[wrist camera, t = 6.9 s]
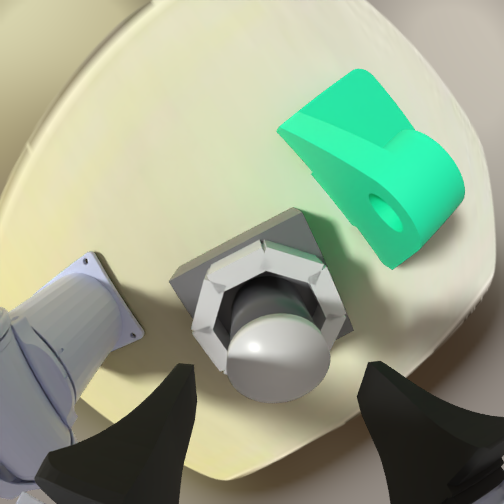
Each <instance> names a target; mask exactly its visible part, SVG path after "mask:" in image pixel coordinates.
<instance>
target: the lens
mask: <svg viewBox="0 0 504 504" xmlns="http://www.w3.org/2000/svg"><path fill="white" fill-rule="evenodd" d="M329 365H330V350H329V347H328V345H327V343H326V341H325V339H324V337H323V335H322V333H321V331H320V330H319V329H318V328H317V327H316V326H315V324H314V322H313V320H312V318H311V316H310V314H309V312H308V310H307V308H306V306H305V304H304V302H303V300H302V298H301V296H300V294H299V292H298V290H297V289H296V288H295V287H294V286H293V285H292V284H291V283H290V282H288V281H287V280H285V279H282V278H280V277H275V276H263V277H258V278H255V279H253V280H251V281H249V282H247V283H246V284H244V285H243V286H242V287H241V288H240V289H239V291H238V292H237V294H236V295H235V297H234V300H233V304H232V317H231V333H230V344H229V347H228V351H227V363H226V370H227V375H228V378H229V380H230V382H231V384H232V385H233V387H234V388H235V389H236V390H237V391H238V392H240V393H241V394H242V395H244V396H245V397H248V398H250V399H252V400H255V401H259V402H264V403H282V402H288V401H292V400H295V399H297V398H300V397H302V396H304V395H306V394H307V393H309V392H310V391H312V390H313V389H314V388H315V387H317V386H318V385H319V384H320V382H321V381H322V380H323V378H324V377H325V375H326V373H327V371H328V369H329Z"/></svg>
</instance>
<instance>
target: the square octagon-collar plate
mask: <svg viewBox="0 0 504 504" xmlns="http://www.w3.org/2000/svg"><path fill="white" fill-rule="evenodd" d="M263 276H275V277H280V278H282V279H285V280H287V281H288V282H290V283H291V284H292V285H293V286H294V287H295V288H296V289H297V290H298V292H299V294H300V296H301V298H302V300H303V302H304V304H305V306H306V308H307V310H308V312H309V314H310V316H311V318H312V320H313V322H314V324H315V326H316V327H317V328H318V329H319V330H320V331H321V333H322V335H323V337H324V339H325V341H326V343H327V345H328V347H329V350H331V348H332V346H333V344H334V342H335V340H337V339H339V338H340V337H342V336H344V335H346V334H348V333H350V332H352V331H354V330H353V327H352V325H351V322H350V319H349V317H348V315H347V312H346V310H345V307H344V305H343V302H342V300H341V297H340V295H339V293H338V290H337V288H336V286H335V283H334V281H333V279H332V276H331V274H330V272H329V269H328V267H327V265H326V263H325V260H324V258H323V256H322V254H321V251H320V249H319V247H318V245H317V243H316V241H315V238H314V236H313V234H312V232H311V230H310V228H309V226H308V223H307V221H306V219H305V217H304V215H303V213H302V212H301V211H299V210H297V209H296V208H294V207H293V208H291V209H289V210H287V211H285V212H283V213H281V214H279V215H277V216H275V217H273V218H271V219H269V220H267V221H265V222H263V223H261V224H259V225H257V226H255V227H254V228H252V229H250V230H248V231H246V232H244V233H242V234H240V235H238V236H236V237H234V238H232V239H231V240H229V241H227V242H225V243H223V244H221V245H219V246H217V247H215V248H213V249H212V250H210V251H208V252H206V253H204V254H202V255H200V256H198V257H197V258H195V259H193V260H191V261H189V262H187V263H185V264H184V265H182V266H180V267H179V268H178V269H177V271H176V272H175V273H174V275H173V276H172V277H171V279H170V280H169V283H170V284H171V286H172V287H173V289H174V291H175V292H176V294H177V295H178V297H179V299H180V300H181V302H182V303H183V305H184V306H185V308H186V309H187V311H188V312H189V314H190V315H191V317H192V318H193V323H192V327H191V329H192V330H193V331H192V334H193V336H194V337H195V338H196V340H197V341H198V343H199V344H200V345H201V347H202V348H203V350H204V351H205V352H206V354H207V355H208V356H209V358H210V359H211V360H212V362H213V363H214V364H215V366H216V367H217V368H218V370H219V371H220V372H221V371H223V370H224V373H223V374H227V370H226V363H227V351H228V347H229V344H230V333H231V317H232V304H233V300H234V297H235V295H236V294H237V292H238V291H239V289H240V288H241V287H242V286H243V285H244V284H246V283H247V282H249V281H251V280H253V279H255V278H258V277H263Z"/></svg>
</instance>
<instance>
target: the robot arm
mask: <svg viewBox="0 0 504 504" xmlns="http://www.w3.org/2000/svg"><path fill="white" fill-rule="evenodd" d="M85 258H86V259H87V260H88V263H86V261H85ZM132 333H134V334H135V335H136V336H133V335H132ZM143 336H144V330H143V329H142V327H141V326H140V324H139V323H138V321H137V320H136V319H135V317H134V316H133V314H132V313H131V311H130V310H129V308H128V307H127V305H126V304H125V302H124V301H123V299H122V298H121V296H120V294H119V293H118V291H117V290H116V288H115V287H114V285H113V283H112V282H111V280H110V278H109V277H108V275H107V273H106V272H105V270H104V268H103V267H102V265H101V263H100V261H99V260H98V258H97V256H96V254H95V253H94V252H92V251H90V252H87V253H86V254H84V255H83V256H82V257H80V258H79V259H78V260H76V261H75V262H74V263H72V264H71V265H70V266H68V267H67V268H66V269H64V270H63V271H62V272H61V273H59V274H58V275H57V276H56V277H54V278H53V279H52V280H50V281H49V282H48V283H47V284H46V285H44V286H43V287H42V288H41V289H39V290H38V291H37V292H36V293H35V294H33V296H32V297H30V298H29V299H27V300H26V301H24V302H23V303H21V304H20V305H18V306H17V307H15V308H14V309H13V310H11V311H10V312H8V311H7V310H6V309H5V308H2V307H0V497H1V498H5V499H14V498H16V497H17V496H19V495H20V497H19V499H18V501H17V503H16V504H45V503H43V502H42V501H40V500H38V499H36V498H35V497H33V496H31V495H29V494H28V493H26V492H27V491H30V490H34V489H41V490H43V491H44V492H45V493H46V494H47V495H48V496H49V497H50V498H51V499H52V500H53V501H54V502H55V503H57V504H179V494H180V485H181V477H182V470H183V465H184V460H185V456H186V453H187V449H188V445H189V441H190V437H191V433H192V429H193V425H194V421H195V414H196V406H197V394H196V384H195V374H194V365H191V364H180V363H179V364H177V365H176V366H175V368H174V369H173V370H172V371H171V372H170V374H169V375H168V376H167V377H166V378H165V379H164V381H163V382H162V383H161V384H160V385H159V386H158V387H157V388H156V389H155V390H154V391H153V392H152V393H151V394H150V395H149V396H148V397H147V398H146V399H145V400H144V401H143V402H142V403H141V404H140V405H139V406H138V407H136V408H135V409H134V410H133V411H132V412H130V413H129V414H128V415H127V416H125V417H124V418H122V419H121V420H120V421H118V422H117V423H115V424H114V425H112V426H110V427H109V428H107V429H106V430H104V431H102V432H100V433H99V434H97V435H95V436H93V437H90V438H88V439H86V440H84V441H82V442H79V443H78V442H77V438H76V436H75V434H74V432H73V431H72V430H71V428H72V426H73V424H74V422H75V420H76V419H77V415H76V413H75V411H74V405H75V403H76V402H77V400H78V399H79V397H80V396H81V394H82V393H83V391H84V390H85V388H86V387H87V385H88V384H89V382H90V381H91V379H92V378H93V376H94V375H95V373H96V372H97V370H98V369H99V367H100V366H101V364H102V363H103V361H104V360H105V359H106V357H107V356H108V354H109V353H110V352H112V351H114V350H116V349H118V348H121V347H123V346H125V345H128V344H130V343H132V342H134V341H137V340H139V339H141V338H142V337H143ZM357 399H358V403H359V407H360V410H361V414H362V417H363V419H364V421H365V424H366V426H367V428H368V430H369V432H370V435H371V437H372V439H373V441H374V444H375V446H376V448H377V451H378V453H379V456H380V458H381V461H382V465H383V469H384V472H385V476H386V480H387V485H388V490H389V496H390V503H391V504H504V470H503V469H502V468H501V466H502V465H503V464H504V461H503V460H502V456H503V455H504V417H497V416H490V415H485V414H480V413H476V412H472V411H469V410H466V409H463V408H460V407H458V406H455V405H453V404H450V403H448V402H446V401H444V400H442V399H439V398H438V397H436V396H434V395H432V394H430V393H429V392H427V391H425V390H424V389H422V388H420V387H419V386H417V385H416V384H414V383H412V382H411V381H410V380H408V379H407V378H405V377H404V376H402V375H401V374H399V373H398V372H397V371H395V370H394V369H392V368H391V367H389V366H388V365H386V364H385V363H383V362H381V361H376V362H368V364H367V368H366V371H365V374H364V377H363V380H362V383H361V386H360V389H359V392H358V395H357Z"/></svg>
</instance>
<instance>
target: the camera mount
mask: <svg viewBox="0 0 504 504" xmlns="http://www.w3.org/2000/svg"><path fill="white" fill-rule="evenodd" d="M276 132H277V133H278V134H279V135H280V136H281V137H282V138H283V139H284V140H285V141H286V142H287V143H288V145H289V146H290V147H291V148H292V149H293V150H294V151H295V152H296V153H297V155H298V156H299V157H300V158H301V159H302V160H303V161H304V162H305V164H306V165H307V166H308V167H309V168H310V169H311V171H312V172H313V173H312V174H311V175H312V176H313V177H314V178H315V179H316V181H317V182H318V183H319V184H320V185H321V187H322V188H323V189H324V190H325V191H326V193H327V194H328V195H329V196H330V198H331V199H332V200H333V201H334V202H335V204H336V205H337V206H338V208H339V209H340V210H341V211H342V213H343V214H344V215H345V216H346V218H347V219H348V220H349V222H350V223H351V224H352V225H353V226H356V227H357V228H358V229H359V231H360V232H361V234H362V235H363V236H364V238H365V239H366V240H367V242H368V243H369V245H370V246H371V247H372V249H373V250H374V252H375V253H376V254H377V256H378V257H379V259H380V260H381V262H382V263H383V264H384V265H386V266H387V267H389V268H390V269H392V270H393V269H394V268H396V267H397V266H398V265H400V264H401V263H402V262H404V261H405V260H407V259H408V258H409V257H411V256H412V255H413V254H415V253H416V252H417V251H418V250H420V249H421V248H422V246H423V245H424V244H425V243H426V242H427V241H428V240H429V239H430V238H431V237H432V236H433V235H434V234H435V232H436V231H437V230H438V229H439V228H440V227H441V226H442V225H443V223H444V222H445V221H446V220H447V219H448V218H449V217H450V215H451V214H452V213H453V212H454V211H455V209H456V208H457V207H458V206H459V205H460V203H461V202H462V201H463V199H464V195H465V187H464V182H463V178H462V176H461V173H460V171H459V169H458V167H457V166H456V164H455V162H454V161H453V159H452V158H451V157H450V155H449V154H448V153H447V152H446V151H445V150H444V149H443V148H442V147H441V146H440V145H439V144H438V143H437V142H436V141H434V140H433V139H431V138H430V137H428V136H427V135H425V134H423V133H421V132H418V131H415V129H414V128H413V126H412V125H411V124H410V122H409V121H408V119H407V118H406V116H405V115H404V114H403V112H402V111H401V110H400V108H399V107H398V106H397V104H396V103H395V102H394V101H393V99H392V98H391V97H390V95H389V94H388V93H387V92H386V91H385V89H384V88H383V87H382V86H381V84H380V83H379V82H378V81H377V80H376V79H375V77H374V76H373V75H372V74H371V73H369V72H368V71H366V70H363V69H355V70H352V71H351V72H350V73H348V74H347V75H345V76H344V77H343V78H341V79H340V80H338V81H337V82H336V83H334V84H333V85H332V86H330V87H329V88H328V89H326V90H325V91H324V92H322V93H321V94H320V95H318V96H317V97H316V98H314V99H313V100H312V101H311V102H309V103H308V104H307V105H305V106H304V107H303V108H302V109H300V110H299V111H298V112H297V113H295V114H294V115H293V116H292V117H290V118H289V119H288V120H287V121H286V122H284V123H283V124H282V125H281V126H279V128H278V129H277V131H276Z"/></svg>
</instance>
